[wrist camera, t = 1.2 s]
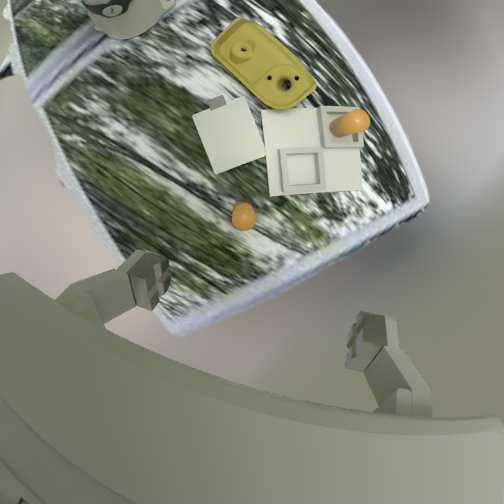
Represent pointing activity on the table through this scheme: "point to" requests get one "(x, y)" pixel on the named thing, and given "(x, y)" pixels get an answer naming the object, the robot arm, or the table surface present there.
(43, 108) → the table surface
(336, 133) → the housing
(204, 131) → the lid
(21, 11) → the table surface
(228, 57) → the plastic component
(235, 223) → the pin
